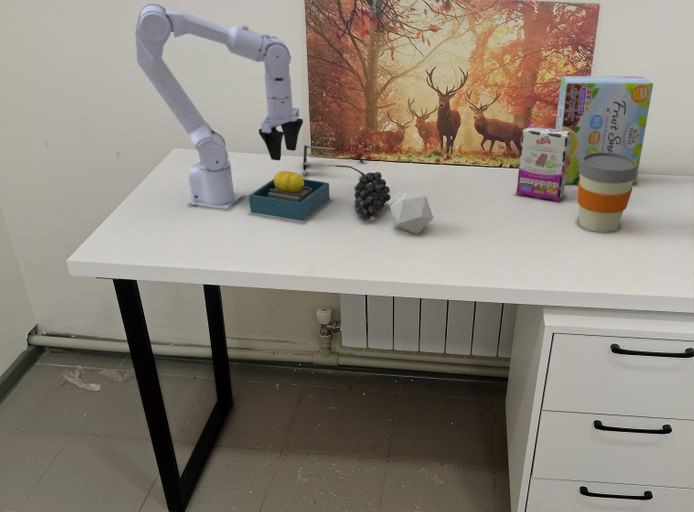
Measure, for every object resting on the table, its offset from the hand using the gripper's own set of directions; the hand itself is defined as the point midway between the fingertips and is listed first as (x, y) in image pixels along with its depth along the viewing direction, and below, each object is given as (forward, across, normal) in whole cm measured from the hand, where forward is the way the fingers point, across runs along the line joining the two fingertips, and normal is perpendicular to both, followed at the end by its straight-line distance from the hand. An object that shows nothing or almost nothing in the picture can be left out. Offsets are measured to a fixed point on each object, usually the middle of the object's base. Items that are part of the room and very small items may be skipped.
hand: (283, 154), depth 173 cm
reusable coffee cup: (+11, +13, -74) cm, 76 cm away
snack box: (+11, +42, -68) cm, 81 cm away
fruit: (+11, -2, -22) cm, 25 cm away
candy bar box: (+11, +25, -58) cm, 64 cm away
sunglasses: (+11, +21, -3) cm, 24 cm away
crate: (+10, -6, -4) cm, 13 cm away
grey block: (+10, -6, -4) cm, 12 cm away
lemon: (+6, -6, -4) cm, 10 cm away
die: (+11, -6, -35) cm, 37 cm away
